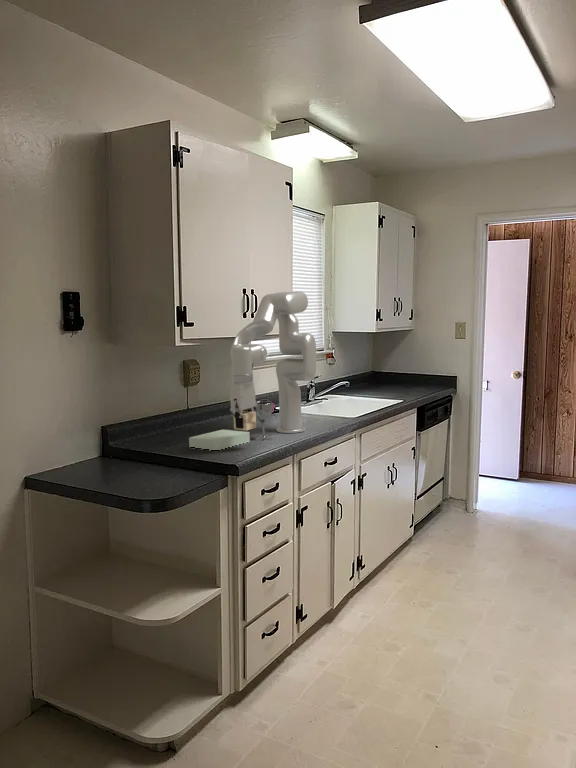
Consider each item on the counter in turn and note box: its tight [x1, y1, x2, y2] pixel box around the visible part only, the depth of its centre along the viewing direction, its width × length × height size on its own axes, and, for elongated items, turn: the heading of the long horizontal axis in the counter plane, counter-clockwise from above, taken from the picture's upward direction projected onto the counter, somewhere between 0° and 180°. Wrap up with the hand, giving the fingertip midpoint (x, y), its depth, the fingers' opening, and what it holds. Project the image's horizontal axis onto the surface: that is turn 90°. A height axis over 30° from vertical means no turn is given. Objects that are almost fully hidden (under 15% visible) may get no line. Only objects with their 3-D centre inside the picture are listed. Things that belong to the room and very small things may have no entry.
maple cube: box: [232, 410, 257, 432], centre depth 236 cm, size 6×6×6 cm
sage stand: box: [188, 429, 251, 451], centre depth 246 cm, size 20×14×4 cm
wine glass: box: [254, 400, 273, 441], centre depth 255 cm, size 8×8×15 cm
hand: (245, 426), depth 236 cm, fingers closed on maple cube, 6 cm apart
